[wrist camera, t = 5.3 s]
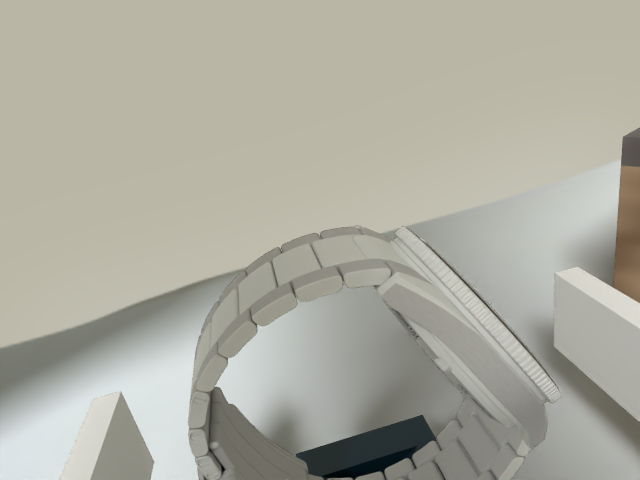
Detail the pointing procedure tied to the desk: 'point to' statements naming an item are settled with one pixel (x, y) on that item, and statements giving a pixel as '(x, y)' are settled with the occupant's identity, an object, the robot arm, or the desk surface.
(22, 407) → the desk surface
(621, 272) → the box
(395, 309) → the watch
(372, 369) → the desk surface
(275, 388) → the desk surface
